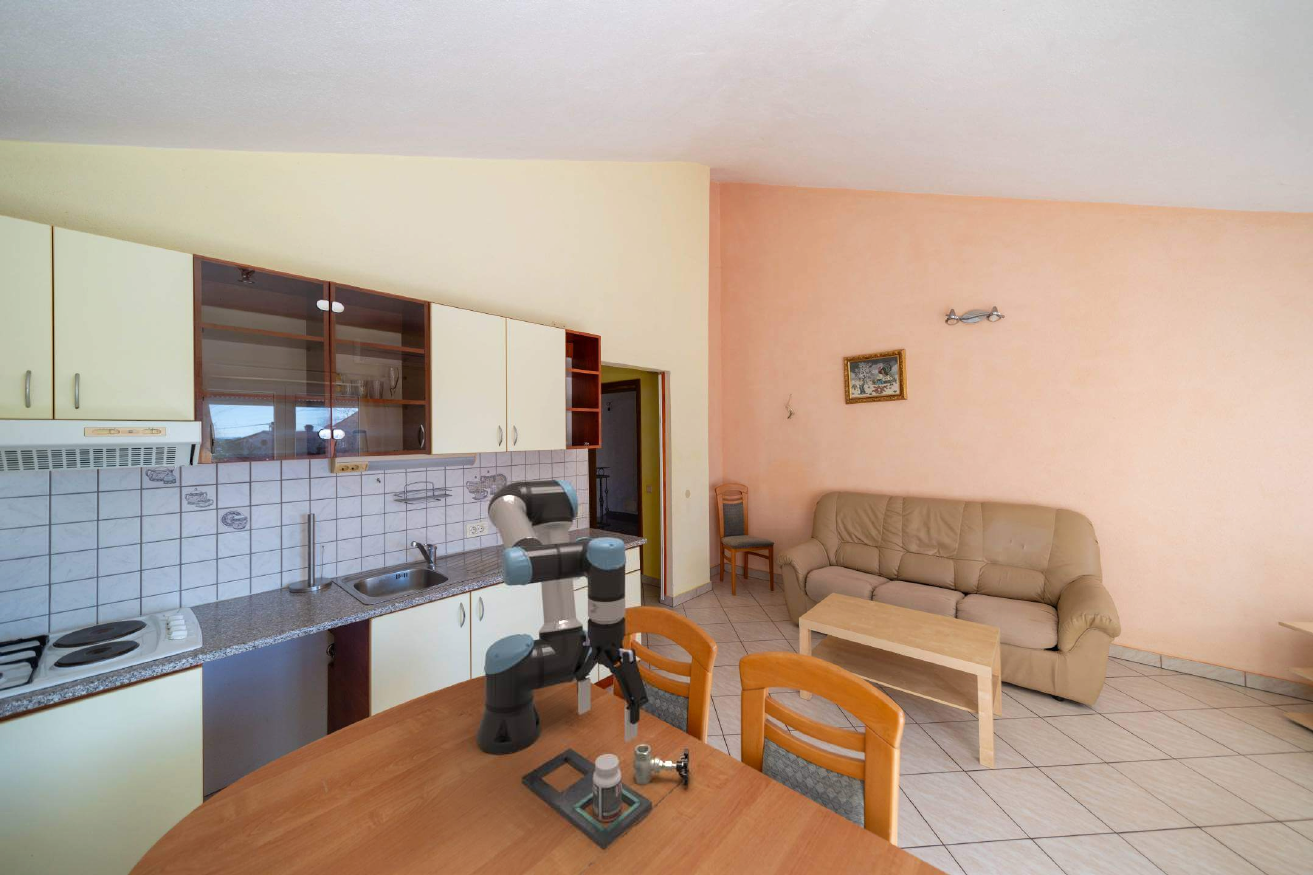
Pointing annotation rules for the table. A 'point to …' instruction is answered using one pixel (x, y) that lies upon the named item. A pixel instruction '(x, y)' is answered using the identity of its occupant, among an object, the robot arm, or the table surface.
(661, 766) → the valve
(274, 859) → the table surface
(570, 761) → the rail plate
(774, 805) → the table surface
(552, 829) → the table surface
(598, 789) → the pill bottle
